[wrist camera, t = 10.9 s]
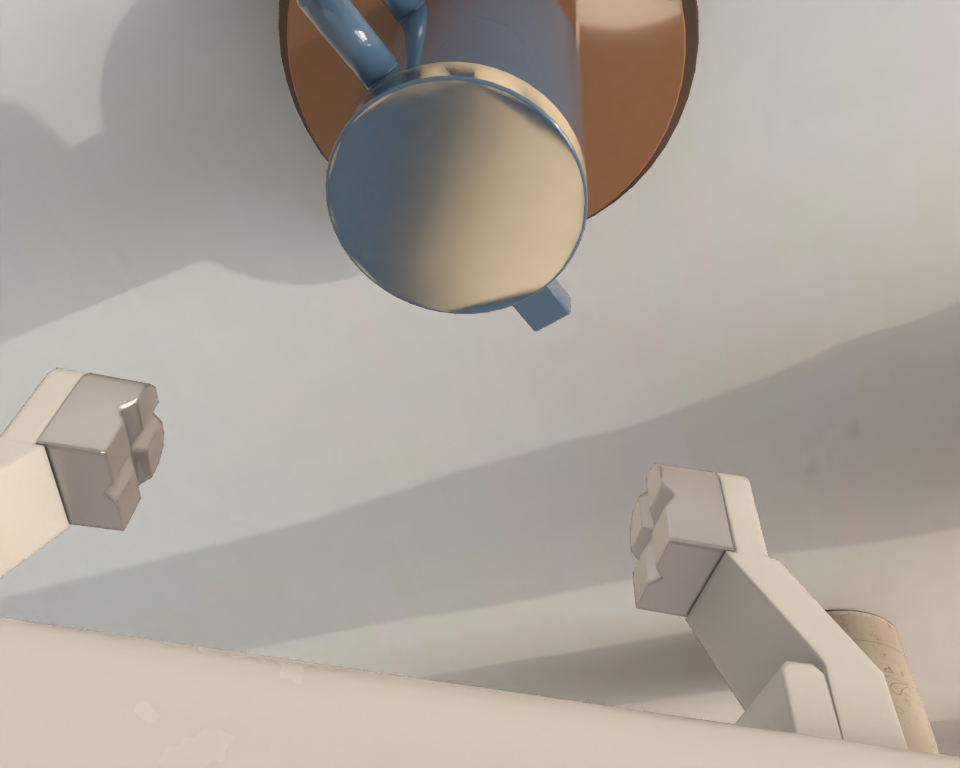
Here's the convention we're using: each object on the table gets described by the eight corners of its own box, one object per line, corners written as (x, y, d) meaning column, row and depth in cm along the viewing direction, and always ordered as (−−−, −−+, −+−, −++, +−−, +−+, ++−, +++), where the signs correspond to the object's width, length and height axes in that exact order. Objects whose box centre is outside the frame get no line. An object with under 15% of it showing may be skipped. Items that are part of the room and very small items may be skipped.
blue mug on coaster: (752, 111, 27) (822, 269, 20) (452, 288, 33) (421, 461, 25) (535, -292, 20) (520, -279, 13) (210, 18, 26) (76, 146, 19)
